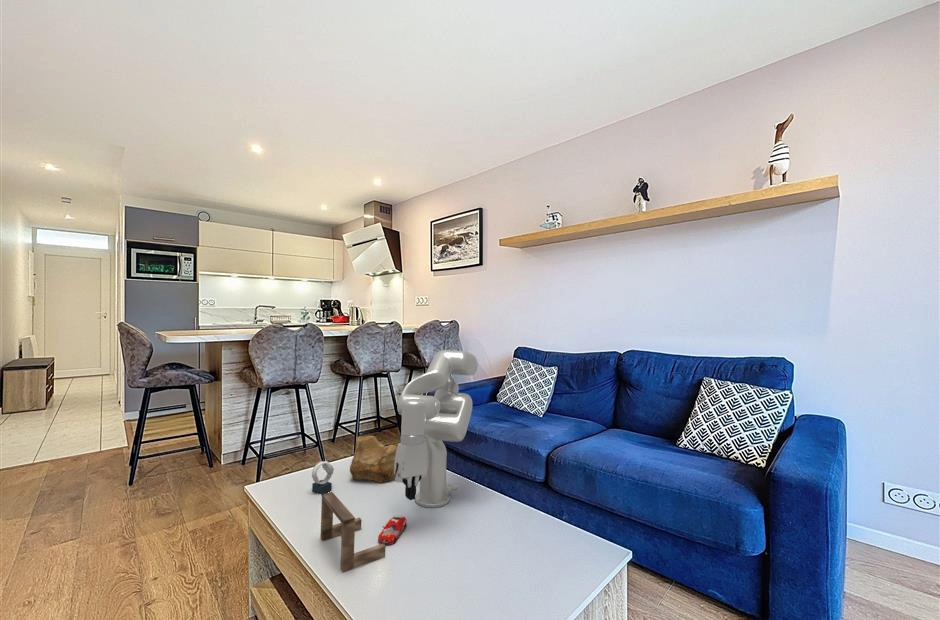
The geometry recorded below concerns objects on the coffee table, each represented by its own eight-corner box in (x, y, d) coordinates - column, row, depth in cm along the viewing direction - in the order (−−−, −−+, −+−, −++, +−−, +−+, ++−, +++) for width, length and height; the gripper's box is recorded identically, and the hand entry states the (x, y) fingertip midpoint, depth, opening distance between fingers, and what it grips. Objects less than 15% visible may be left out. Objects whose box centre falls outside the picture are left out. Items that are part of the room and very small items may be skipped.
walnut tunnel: (359, 527, 126) (360, 484, 126) (385, 556, 111) (386, 508, 111) (320, 538, 119) (321, 494, 119) (342, 572, 103) (343, 520, 104)
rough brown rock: (334, 478, 165) (334, 443, 164) (366, 463, 179) (365, 430, 178) (373, 495, 152) (372, 457, 151) (404, 478, 166) (403, 442, 165)
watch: (335, 489, 153) (336, 460, 153) (317, 497, 146) (318, 466, 146) (325, 486, 156) (326, 457, 156) (307, 493, 149) (308, 463, 149)
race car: (392, 548, 115) (392, 534, 115) (374, 545, 117) (375, 531, 117) (409, 525, 128) (409, 513, 128) (393, 523, 129) (394, 510, 129)
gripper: (427, 433, 134) (425, 489, 133) (385, 439, 125) (383, 499, 124) (439, 438, 128) (437, 497, 127) (396, 445, 119) (394, 508, 118)
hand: (410, 498), depth 125 cm, fingers closed
